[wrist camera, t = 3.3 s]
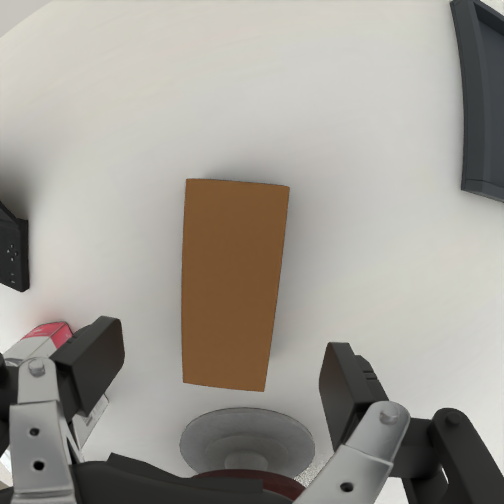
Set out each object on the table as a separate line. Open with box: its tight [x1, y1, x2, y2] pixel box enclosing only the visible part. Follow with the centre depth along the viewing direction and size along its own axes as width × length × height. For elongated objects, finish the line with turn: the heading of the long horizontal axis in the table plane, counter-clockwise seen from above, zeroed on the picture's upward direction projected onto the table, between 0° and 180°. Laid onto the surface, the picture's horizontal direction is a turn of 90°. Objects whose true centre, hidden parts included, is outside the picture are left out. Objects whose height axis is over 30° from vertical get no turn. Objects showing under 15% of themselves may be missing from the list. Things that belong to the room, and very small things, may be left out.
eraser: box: [181, 179, 290, 392], centre depth 17 cm, size 12×5×4 cm, turn 175°
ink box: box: [0, 322, 108, 473], centre depth 16 cm, size 9×5×12 cm, turn 14°
